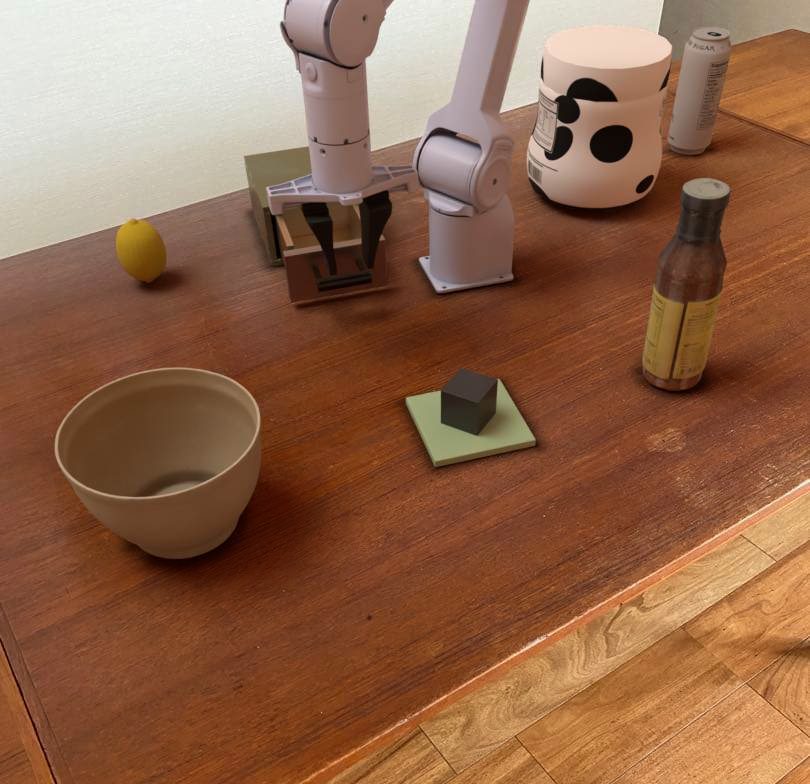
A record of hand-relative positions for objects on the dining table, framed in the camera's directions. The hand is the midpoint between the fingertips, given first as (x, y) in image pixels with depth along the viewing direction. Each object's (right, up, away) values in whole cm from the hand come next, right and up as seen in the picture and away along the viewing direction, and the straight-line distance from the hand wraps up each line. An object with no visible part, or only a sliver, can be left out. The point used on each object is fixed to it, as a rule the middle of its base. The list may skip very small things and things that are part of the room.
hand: (350, 267), depth 89 cm
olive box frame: (-7, +12, +23) cm, 26 cm away
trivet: (+12, -17, -4) cm, 21 cm away
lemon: (-25, +3, +15) cm, 30 cm away
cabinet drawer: (-3, +3, +14) cm, 14 cm away
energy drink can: (+47, +29, +36) cm, 65 cm away
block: (+12, -16, -5) cm, 21 cm away
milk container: (+30, +19, +28) cm, 45 cm away
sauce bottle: (+33, -11, 0) cm, 35 cm away
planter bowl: (-14, -27, -12) cm, 32 cm away
